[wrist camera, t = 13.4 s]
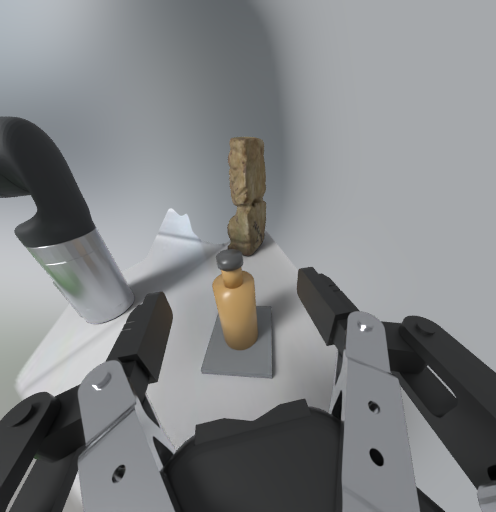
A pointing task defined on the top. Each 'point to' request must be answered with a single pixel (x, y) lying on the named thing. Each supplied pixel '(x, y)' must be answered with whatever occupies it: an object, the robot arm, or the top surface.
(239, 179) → the sculpture
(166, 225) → the top surface
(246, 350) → the mat
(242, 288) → the bottle
